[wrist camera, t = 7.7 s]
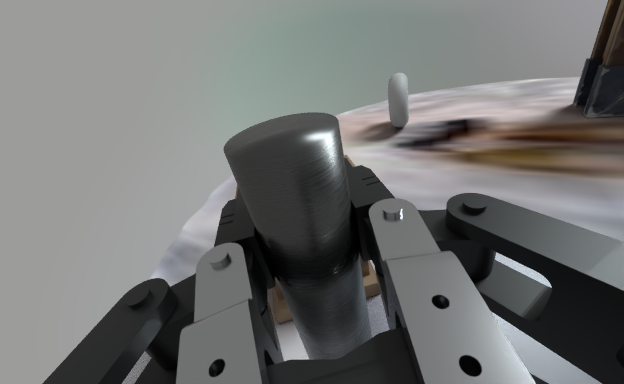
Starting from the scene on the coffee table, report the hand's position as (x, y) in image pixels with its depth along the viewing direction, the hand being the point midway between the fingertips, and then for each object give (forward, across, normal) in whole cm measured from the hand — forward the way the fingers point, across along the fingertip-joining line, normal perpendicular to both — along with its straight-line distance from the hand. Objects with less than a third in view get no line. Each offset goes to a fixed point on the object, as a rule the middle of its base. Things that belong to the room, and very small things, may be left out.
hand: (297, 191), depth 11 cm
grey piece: (+5, 0, +10) cm, 11 cm away
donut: (+40, -23, +15) cm, 48 cm away
